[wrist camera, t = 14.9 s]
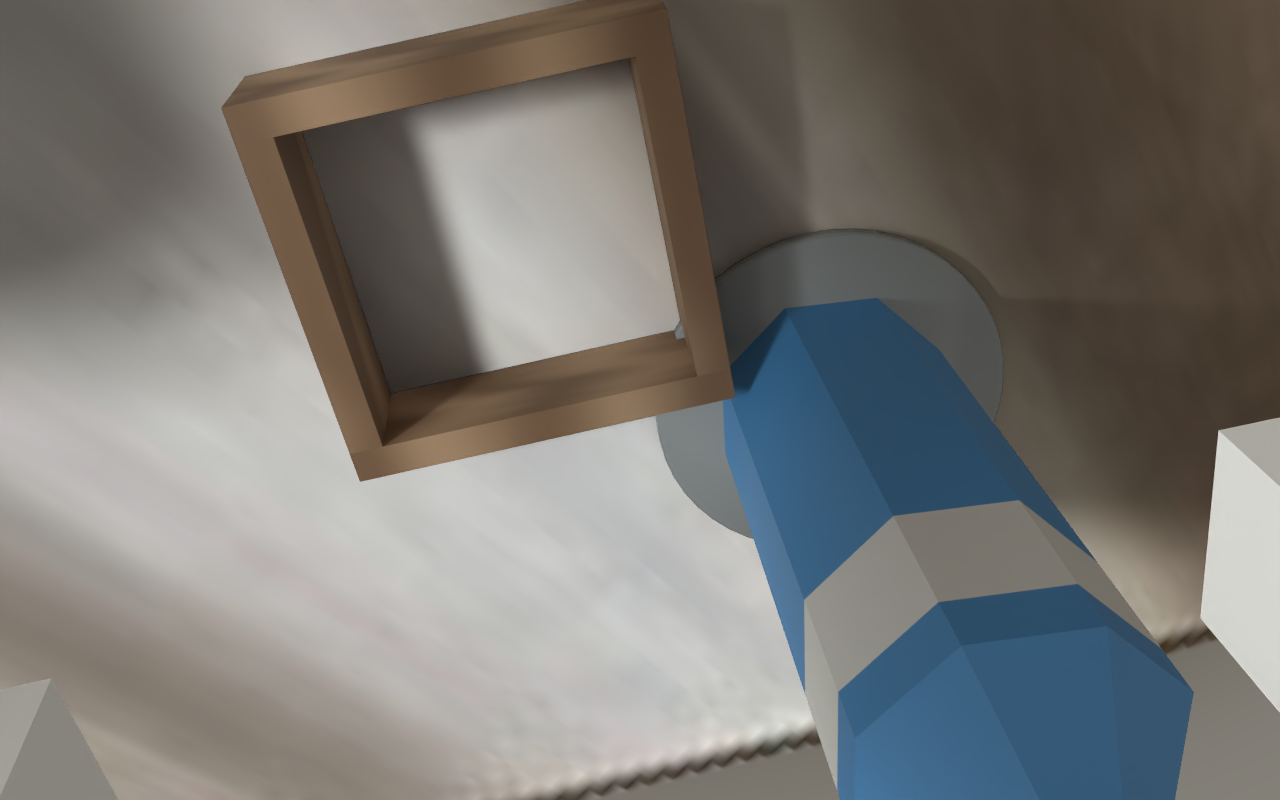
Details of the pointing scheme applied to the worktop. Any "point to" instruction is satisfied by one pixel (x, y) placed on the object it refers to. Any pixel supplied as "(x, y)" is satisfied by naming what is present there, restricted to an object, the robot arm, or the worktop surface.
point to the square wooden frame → (515, 396)
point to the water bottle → (936, 580)
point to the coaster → (822, 276)
